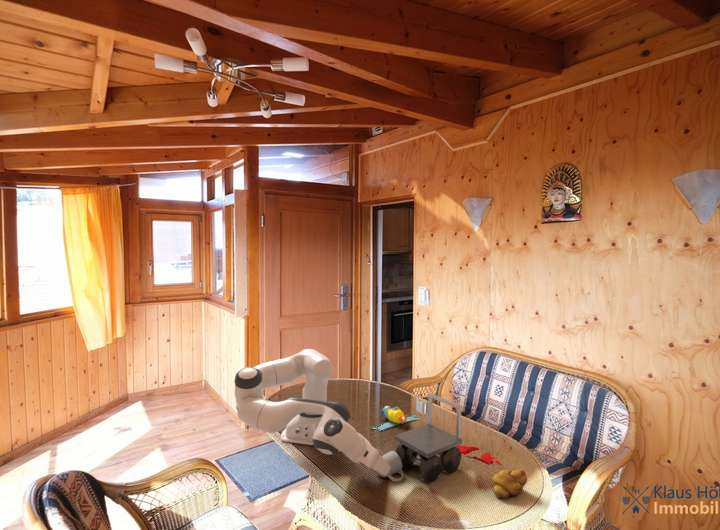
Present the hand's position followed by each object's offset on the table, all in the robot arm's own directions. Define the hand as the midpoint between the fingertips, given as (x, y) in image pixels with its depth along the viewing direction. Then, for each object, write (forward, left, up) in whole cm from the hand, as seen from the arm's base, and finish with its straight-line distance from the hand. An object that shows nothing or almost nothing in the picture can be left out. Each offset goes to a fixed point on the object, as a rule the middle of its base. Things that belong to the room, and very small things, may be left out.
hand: (379, 466), depth 155 cm
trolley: (+19, +8, -4) cm, 21 cm away
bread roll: (+45, -6, -5) cm, 46 cm away
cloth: (+40, +21, -5) cm, 45 cm away
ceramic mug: (+5, +2, -5) cm, 7 cm away
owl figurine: (+7, +50, -5) cm, 51 cm away
